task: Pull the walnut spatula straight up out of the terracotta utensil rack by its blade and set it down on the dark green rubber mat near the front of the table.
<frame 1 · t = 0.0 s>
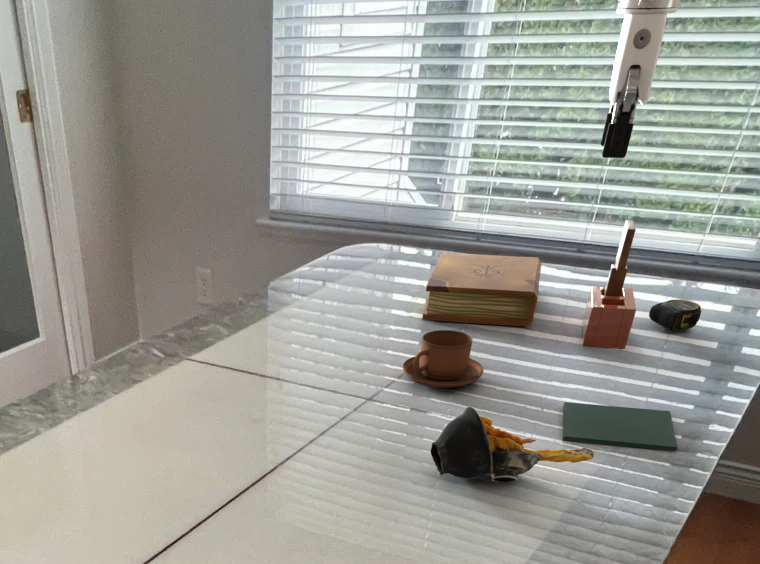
hand: (612, 151, 124), 26 cm above the table, tool pointing down, fingers open, 9 cm apart
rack: (602, 335, 142), on the table
cup and saucer: (440, 381, 129), on the table
diary: (480, 305, 156), on the table
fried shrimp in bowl: (502, 479, 105), on the table
mat: (616, 427, 115), on the table
spatula: (602, 330, 143), resting in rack
tape measure: (670, 329, 143), on the table
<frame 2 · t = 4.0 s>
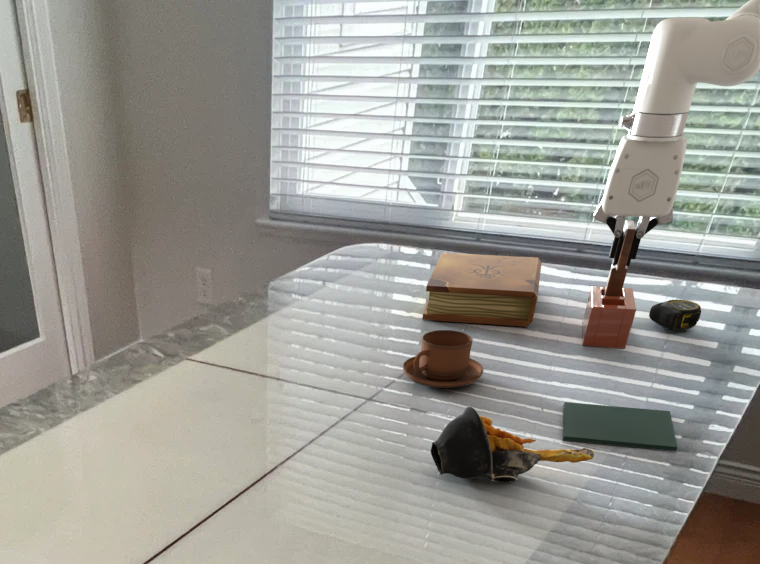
hand: (620, 262, 136), 11 cm above the table, tool pointing down, fingers closed on spatula, 1 cm apart
spatula: (602, 330, 143), resting in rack, touching gripper
everything else where it was.
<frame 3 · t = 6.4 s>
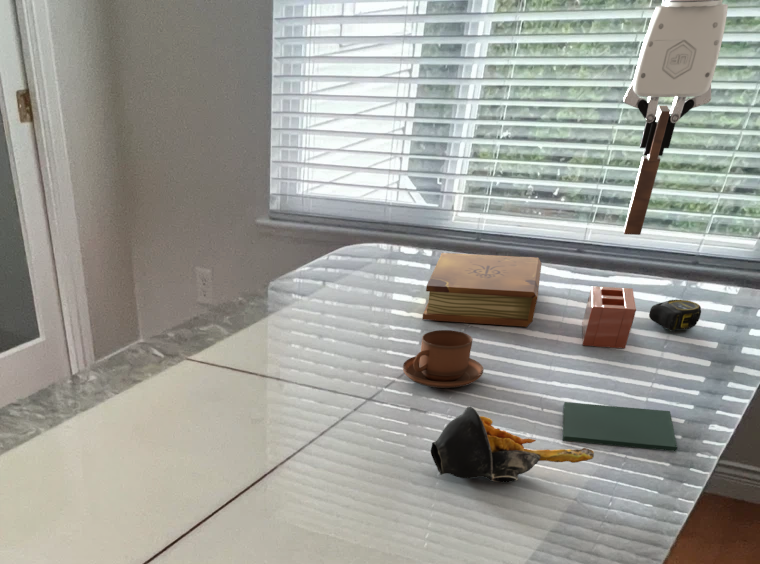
hand: (652, 153, 126), 26 cm above the table, tool pointing down, fingers closed on spatula, 1 cm apart
spatula: (631, 232, 133), point 15 cm above the table, touching gripper
everything else where it was.
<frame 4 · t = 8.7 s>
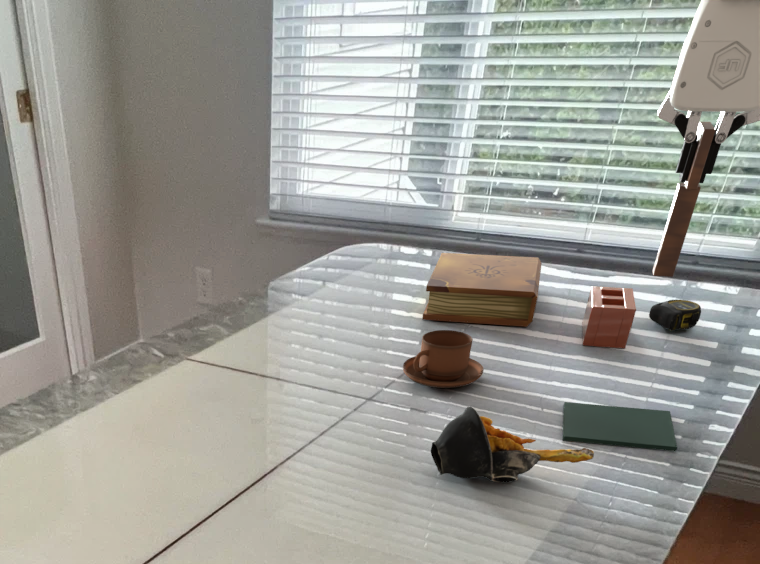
hand: (691, 179, 103), 27 cm above the table, tool pointing down, fingers closed on spatula, 1 cm apart
spatula: (662, 274, 110), point 17 cm above the table, touching gripper
everything else where it was.
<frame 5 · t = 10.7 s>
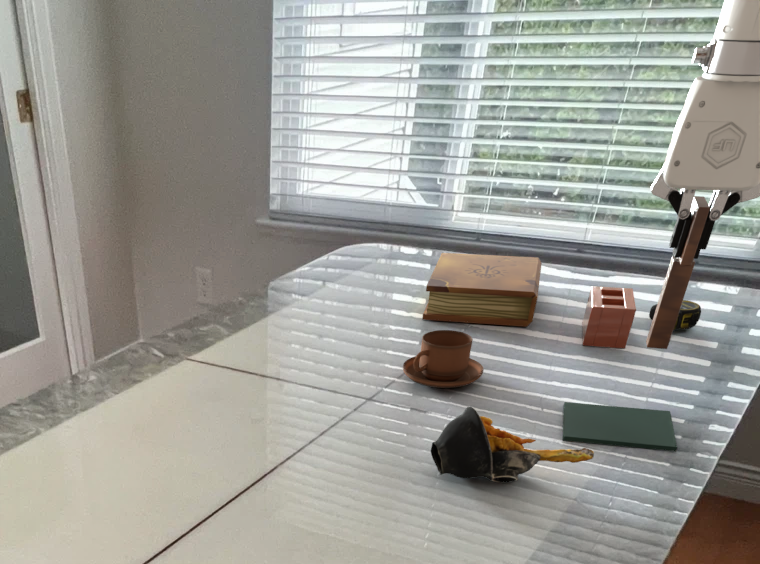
hand: (685, 254, 101), 21 cm above the table, tool pointing down, fingers closed on spatula, 1 cm apart
spatula: (656, 345, 108), point 11 cm above the table, touching gripper
everything else where it was.
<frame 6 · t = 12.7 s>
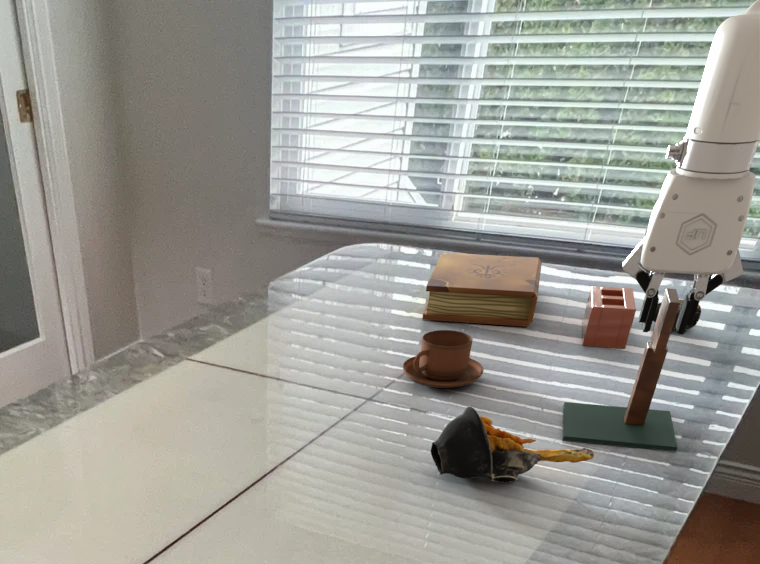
hand: (662, 328, 106), 13 cm above the table, tool pointing down, fingers open, 3 cm apart
spatula: (633, 421, 115), point 1 cm above the table, touching mat
everything else where it was.
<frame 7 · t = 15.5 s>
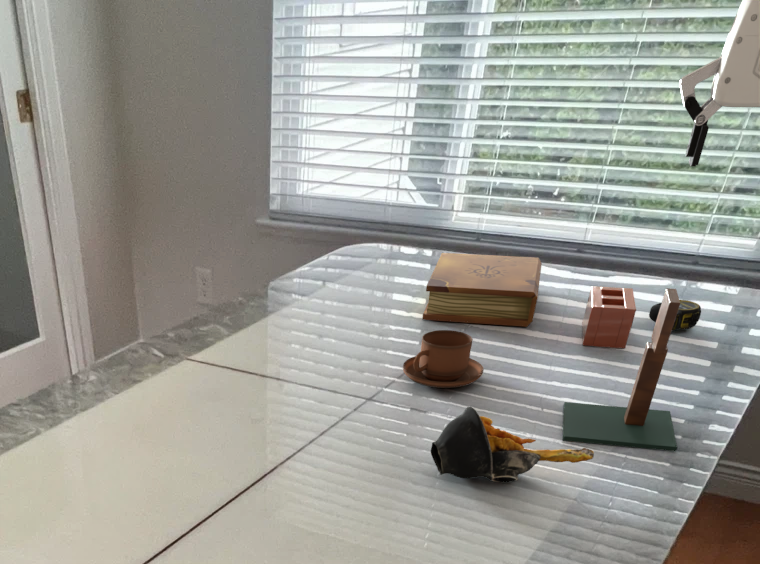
hand: (736, 164, 100), 29 cm above the table, tool pointing down, fingers open, 9 cm apart
nothing on the table moved.
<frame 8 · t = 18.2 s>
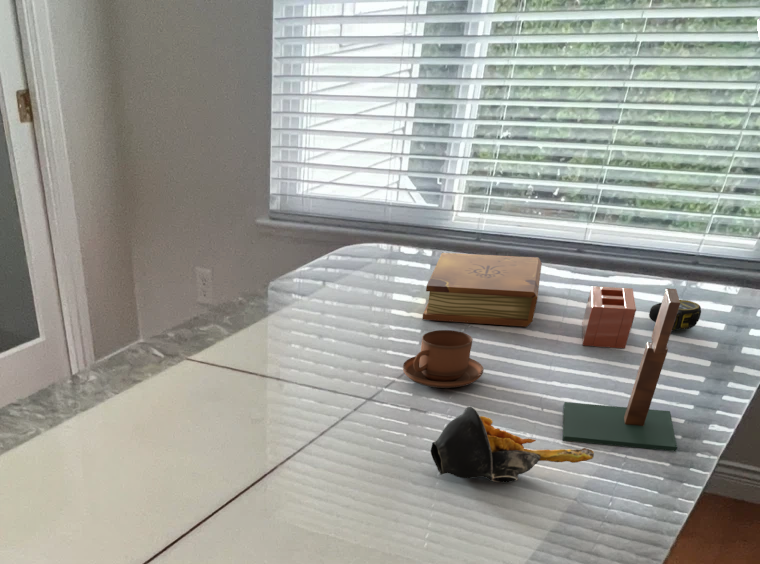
nothing on the table moved.
at the end: spatula inside the target area on the mat (2.2 cm from its centre), point 0.6 cm above the mat's base; the gripper is holding nothing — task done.
